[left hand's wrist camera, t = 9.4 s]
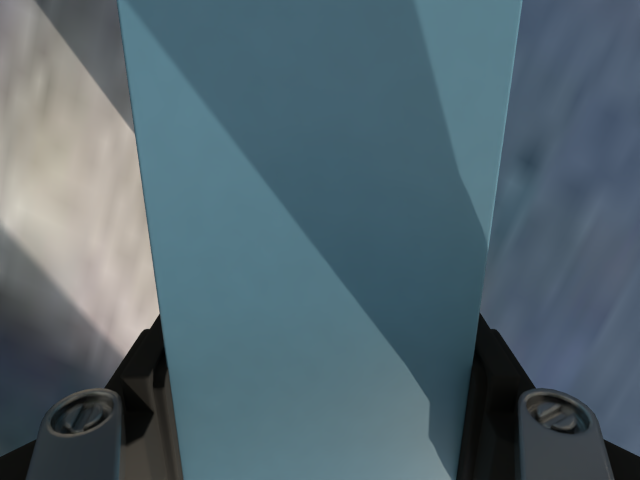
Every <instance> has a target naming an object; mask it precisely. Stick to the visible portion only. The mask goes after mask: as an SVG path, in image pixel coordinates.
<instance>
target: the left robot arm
mask: <svg viewBox="0 0 640 480" xmlns="http://www.w3.org/2000/svg"><path fill="white" fill-rule="evenodd" d="M0 480H183V473H182V466H181V459H180V452H179V444H178V437H177V430H176V423H175V415H174V408H173V401H172V393H171V386H170V379H169V372H168V367H167V362H166V354H165V347H164V340H163V333H162V325H161V318H160V314H159V316H158V317H157V319H156V320H155V322H154V323H153V325H152V327H151V328H150V329H145V330H143V331H142V332H141V334H140V335H139V337H138V338H137V340H136V341H135V343H134V344H133V346H132V347H131V349H130V350H129V352H128V353H127V355H126V356H125V358H124V359H123V361H122V362H121V364H120V365H119V367H118V368H117V370H116V371H115V373H114V374H113V376H112V378H111V379H110V381H109V382H108V384H107V385H106V387H105V388H104V389H103V388H95V389H87V390H83V391H80V392H77V393H74V394H72V395H70V396H67V397H65V398H63V399H62V400H60V401H59V402H58V403H56V404H55V405H53V406H52V407H51V408H50V409H49V410H48V412H47V413H46V414H45V416H44V418H43V420H42V422H41V425H40V429H39V432H38V436H37V439H36V440H34V441H32V442H30V443H28V444H26V445H24V446H22V447H20V448H18V449H16V450H14V451H12V452H10V453H8V454H6V455H3V456H1V457H0ZM456 480H640V457H639V456H637V455H635V454H633V453H631V452H629V451H627V450H624V449H622V448H620V447H618V446H616V445H614V444H612V443H610V442H608V441H606V440H604V439H603V436H602V432H601V429H600V425H599V422H598V420H597V418H596V416H595V414H594V413H593V412H592V411H591V409H590V408H589V407H588V406H587V405H585V404H584V403H582V402H581V401H580V400H578V399H577V398H575V397H573V396H570V395H568V394H566V393H563V392H560V391H557V390H553V389H545V388H537V389H536V388H535V386H534V385H533V383H532V382H531V380H530V379H529V377H528V376H527V374H526V373H525V371H524V370H523V368H522V367H521V365H520V364H519V362H518V361H517V359H516V357H515V356H514V354H513V353H512V351H511V350H510V348H509V347H508V345H507V344H506V342H505V341H504V339H503V338H502V336H501V335H500V333H499V332H498V331H497V330H495V329H490V328H489V326H488V325H487V323H486V321H485V320H484V318H483V317H482V315H481V314H480V313H479V320H478V327H477V334H476V342H475V349H474V356H473V364H472V369H471V377H470V384H469V391H468V398H467V406H466V413H465V420H464V428H463V435H462V442H461V449H460V457H459V464H458V471H457V479H456Z"/></svg>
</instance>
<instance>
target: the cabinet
mask: <svg viewBox="0 0 640 480" xmlns="http://www.w3.org/2000/svg"><path fill="white" fill-rule="evenodd" d="M117 7H118V14H119V21H120V28H121V36H122V43H123V50H124V57H125V65H126V72H127V79H128V86H129V94H130V101H131V108H132V115H133V123H134V130H135V137H136V144H137V152H138V159H139V166H140V173H141V181H142V188H143V195H144V202H145V210H146V217H147V224H148V231H149V238H150V246H151V253H152V260H153V267H154V275H155V282H156V289H157V296H158V304H159V311H160V318H161V325H162V333H163V340H164V347H165V354H166V362H167V367H168V372H169V379H170V386H171V393H172V401H173V408H174V415H175V423H176V430H177V437H178V444H179V452H180V459H181V466H182V473H183V480H456V479H457V471H458V464H459V457H460V449H461V442H462V435H463V428H464V420H465V413H466V406H467V398H468V391H469V384H470V377H471V369H472V364H473V356H474V349H475V342H476V334H477V327H478V320H479V313H480V305H481V298H482V291H483V283H484V276H485V269H486V262H487V254H488V247H489V240H490V233H491V225H492V218H493V211H494V203H495V196H496V189H497V182H498V174H499V167H500V160H501V152H502V145H503V138H504V131H505V123H506V116H507V109H508V102H509V94H510V87H511V80H512V72H513V65H514V58H515V51H516V43H517V36H518V29H519V21H520V14H521V7H522V0H117Z"/></svg>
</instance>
